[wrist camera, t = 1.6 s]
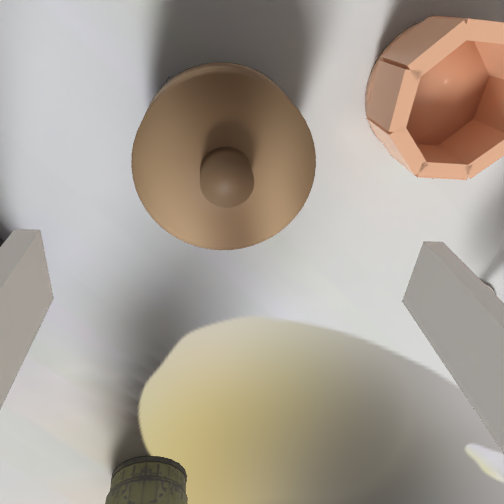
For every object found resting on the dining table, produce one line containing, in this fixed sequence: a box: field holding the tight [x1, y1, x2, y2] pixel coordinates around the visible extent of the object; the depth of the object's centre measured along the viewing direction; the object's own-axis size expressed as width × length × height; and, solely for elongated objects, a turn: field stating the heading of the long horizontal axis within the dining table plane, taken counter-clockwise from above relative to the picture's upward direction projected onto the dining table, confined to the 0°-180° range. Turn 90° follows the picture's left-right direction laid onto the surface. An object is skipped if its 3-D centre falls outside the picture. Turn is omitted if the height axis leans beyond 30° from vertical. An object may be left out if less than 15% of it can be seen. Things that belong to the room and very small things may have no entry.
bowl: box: [365, 15, 504, 180], centre depth 26 cm, size 9×9×5 cm
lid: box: [132, 62, 316, 250], centre depth 24 cm, size 10×10×6 cm
